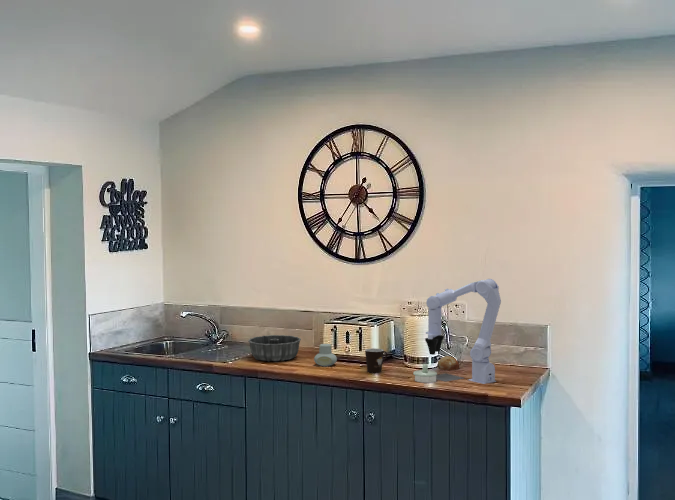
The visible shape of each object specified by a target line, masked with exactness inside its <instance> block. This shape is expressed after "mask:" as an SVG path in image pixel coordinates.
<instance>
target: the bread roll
mask: <svg viewBox="0 0 675 500" xmlns="http://www.w3.org/2000/svg"><path fill="white" fill-rule="evenodd" d="M437 369H439V370H442V371H455V370H459V369H460V363H459V361H458V359H456V358H455V357H453V356H450V355H445V356H443V357H441V358H440V359H439V360H438V362H437Z"/></svg>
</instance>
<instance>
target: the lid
mask: <svg viewBox="0 0 675 500" xmlns="http://www.w3.org/2000/svg"><path fill="white" fill-rule="evenodd" d="M428 365H429V364H428V363H422V369H420V370H419V369H417V370H414V371H413V375H414V376H415V375H416V376H421V377H432V376H436V375H438V373H437V371H434V370H430V369H428V368H429V367H428Z"/></svg>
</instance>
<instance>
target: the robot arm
mask: <svg viewBox="0 0 675 500" xmlns="http://www.w3.org/2000/svg"><path fill="white" fill-rule="evenodd" d="M499 289H500V287H499V285H498V283H497V282H496V281H495V280H494V279H493V278H487V279H481V280H478V281H477V280H476V281H473V282H470V283H468V284H466V285H463V286H461V287H459V288H457V289H452V288H446V289H444V291H442V292H440V293H439V292H437V293H436V294H435V295H430V296H429V297H428V298H427V299H426V303H425V304H426V306H427V308H428V310H427V311H428V315H427V316H428V317H427V318H428V328H427V329H428V331H426V332H425V334H427V337H426V338H424V341H425V342H426V344H427V345H426V346H427V349H428V352H429V355H433V356H434V355H435V354H436V352H437V353H439V352H440V351H441V347H442V343H443V341H444V338H445V335H443V332H442V307H444V306H447V305H449V304H451V303H453V302H456V301H457V299H458V297H460V296H461V297H462V296H464V295H466V294H469V293H471V292H472V293H475V294H476V293H477V294H478V295H480V296H481V297H482V298H483V299H484V300H485V302H486V308H485V312H484V315H483V320H482V324H481V325H480V326H481V327H480V330H479V332H478V333H479V334H478V337H477V339H476V341H475V343H474V345H473V347H472V348H471V349H470V351H469V355H470V358H471V378H469V379H467V381H470V382H474V383H478V384H483V385H485V384H490V383H495V382H497V380H496V368H495V365H494V363H492V362H490V358H489V357H490V356H491V354H492V349H491V347H492V342H491V340H492V335H493V332H494V329H495V326H496V325H495V324H496V323H497V319H498V318H497V317H498V314H499V309H500V306H501V303H502V300H501V296H500V290H499Z"/></svg>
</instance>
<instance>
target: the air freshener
mask: <svg viewBox="0 0 675 500" xmlns="http://www.w3.org/2000/svg"><path fill="white" fill-rule="evenodd" d="M332 347H333V346H332V344H330V343H321V344H319V347H318V348H319V351H318V353H317V354H316V355H315V356H314V357H313V360H314V363H315V364H316V365H318V366H320V367H324V368H325V367H331V366H333V365H335V364H336V362H338V357H337V356H336V355H335V354H334V353H333V351H332V350H333V349H332Z"/></svg>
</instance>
